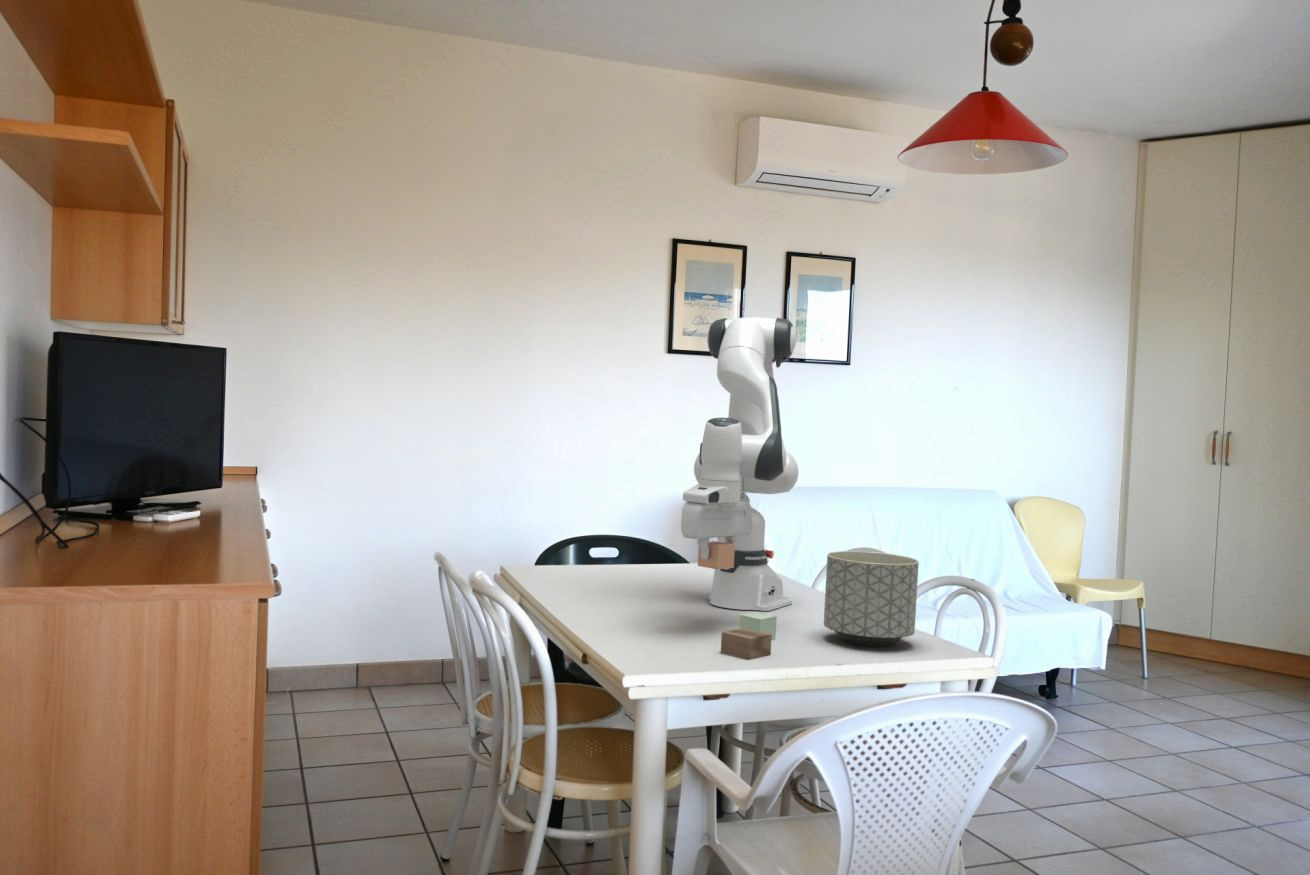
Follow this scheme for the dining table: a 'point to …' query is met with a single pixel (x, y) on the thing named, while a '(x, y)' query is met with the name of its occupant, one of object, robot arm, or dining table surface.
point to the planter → (870, 596)
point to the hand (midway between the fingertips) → (716, 557)
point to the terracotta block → (718, 556)
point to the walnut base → (746, 643)
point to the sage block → (759, 623)
